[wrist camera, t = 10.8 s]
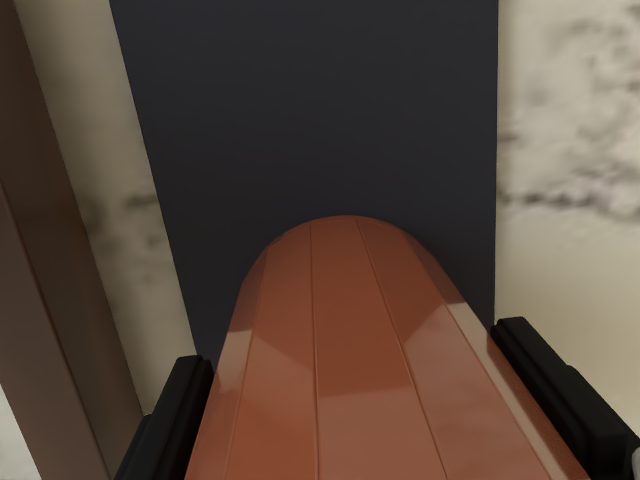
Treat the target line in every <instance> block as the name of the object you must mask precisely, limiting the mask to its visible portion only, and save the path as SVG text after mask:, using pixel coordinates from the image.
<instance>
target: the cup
mask: <svg viewBox="0 0 640 480" xmlns="http://www.w3.org/2000/svg"><path fill="white" fill-rule="evenodd" d="M184 480H591V479H590V478H589V476H588V475H587V473H586V472H585V470H584V469H583V468H582V466H581V465H580V463H579V462H578V460H577V459H576V458H575V456H574V455H573V453H572V452H571V451H570V449H569V448H568V446H567V445H566V443H565V442H564V441H563V439H562V438H561V436H560V435H559V433H558V432H557V431H556V429H555V428H554V426H553V425H552V423H551V422H550V421H549V419H548V418H547V416H546V415H545V413H544V412H543V411H542V409H541V408H540V406H539V405H538V404H537V402H536V401H535V399H534V398H533V396H532V395H531V394H530V392H529V391H528V389H527V388H526V386H525V385H524V384H523V382H522V381H521V379H520V378H519V376H518V375H517V374H516V372H515V371H514V369H513V368H512V366H511V365H510V364H509V362H508V361H507V359H506V358H505V357H504V355H503V354H502V352H501V351H500V349H499V348H498V347H497V345H496V344H495V342H494V341H493V339H492V338H491V337H490V335H489V334H488V332H487V331H486V329H485V328H484V327H483V325H482V324H481V322H480V321H479V319H478V318H477V317H476V315H475V314H474V312H473V311H472V309H471V308H470V307H469V305H468V304H467V302H466V301H465V300H464V298H463V297H462V295H461V294H460V292H459V291H458V290H457V288H456V287H455V285H454V284H453V282H452V281H451V280H450V278H449V277H448V275H447V274H446V272H445V271H444V270H443V268H442V267H441V265H440V264H439V262H438V261H437V260H436V258H435V257H434V256H433V255H432V254H431V253H429V252H428V251H427V250H426V248H425V247H424V246H423V245H422V244H421V243H420V242H418V241H417V240H416V239H415V238H414V237H413V236H411V235H410V234H408V233H407V232H405V231H404V230H402V229H400V228H398V227H396V226H394V225H392V224H390V223H387V222H384V221H381V220H378V219H374V218H369V217H364V216H354V215H339V216H329V217H324V218H318V219H315V220H312V221H309V222H306V223H303V224H301V225H298V226H296V227H294V228H292V229H290V230H288V231H287V232H285V233H284V234H282V235H280V236H279V237H277V238H276V239H275V240H274V241H273V242H272V243H270V244H269V245H268V246H267V247H266V248H265V249H264V250H263V251H262V252H261V253H260V255H259V256H258V257H257V258H256V260H255V261H254V263H253V264H252V266H251V267H250V269H249V271H248V273H247V275H246V277H245V278H244V280H243V282H242V285H241V288H240V292H239V295H238V299H237V302H236V305H235V309H234V312H233V315H232V319H231V322H230V326H229V329H228V332H227V336H226V339H225V343H224V346H223V349H222V353H221V356H220V359H219V363H218V366H217V370H216V373H215V376H214V380H213V383H212V387H211V390H210V393H209V397H208V400H207V403H206V407H205V410H204V414H203V417H202V420H201V424H200V427H199V431H198V434H197V437H196V441H195V444H194V447H193V451H192V454H191V458H190V461H189V464H188V468H187V471H186V475H185V478H184Z"/></svg>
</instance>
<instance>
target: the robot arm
mask: <svg viewBox="0 0 640 480" xmlns="http://www.w3.org/2000/svg"><path fill="white" fill-rule="evenodd" d="M490 337H491V338H492V339H493V341H494V342H495V344H496V345H497V347H498V348H499V349H500V351H501V352H502V354H503V355H504V357H505V358H506V359H507V361H508V362H509V364H510V365H511V366H512V368H513V369H514V371H515V372H516V374H517V375H518V376H519V378H520V379H521V381H522V382H523V384H524V385H525V386H526V388H527V389H528V391H529V392H530V394H531V395H532V396H533V398H534V399H535V401H536V402H537V404H538V405H539V406H540V408H541V409H542V411H543V412H544V413H545V415H546V416H547V418H548V419H549V421H550V422H551V423H552V425H553V426H554V428H555V429H556V431H557V432H558V433H559V435H560V436H561V438H562V439H563V441H564V442H565V443H566V445H567V446H568V448H569V449H570V451H571V452H572V453H573V455H574V456H575V458H576V459H577V460H578V462H579V463H580V465H581V466H582V468H583V469H584V470H585V472H586V473H587V475H588V476H589V478H590V479H591V480H640V438H639V437H638V436H637V435H636V434H635V433H634V432H633V431H632V430H631V429H630V428H629V426H628V425H627V424H626V423H625V422H624V421H623V420H622V419H621V418H620V417H619V416H618V414H617V413H616V412H615V411H614V410H613V409H612V408H611V407H610V406H609V405H608V404H607V402H606V401H605V400H604V399H603V398H602V397H601V396H600V395H599V394H598V393H597V392H596V390H595V389H594V388H593V387H592V386H591V385H590V384H589V383H588V382H587V381H586V380H585V378H584V377H583V376H582V375H581V374H580V373H579V372H578V371H577V370H576V369H575V368H574V367H572V366H570V365H566V364H565V362H564V361H563V360H562V359H561V358H560V357H559V356H558V355H557V353H556V352H555V351H554V350H553V349H552V348H551V347H550V346H549V345H548V343H547V342H546V341H545V340H544V339H543V338H542V337H541V336H540V335H539V333H538V332H537V331H536V330H535V329H534V328H533V327H532V326H531V325H530V323H529V322H528V321H527V320H526V319H525V318H524V317H521V316H520V317H511V318H503V319H499V320H498V321H497V325H493V326H491V329H490ZM213 380H214V372H213V367H212V364H211V361H210V360H209V359H208V360H204V359H203V357H202V355H193V356H184V357H179V358H177V360H176V362H175V364H174V366H173V369H172V371H171V373H170V375H169V377H168V380H167V382H166V384H165V386H164V388H163V391H162V393H161V395H160V397H159V400H158V402H157V404H156V406H155V408H154V411H153V413H152V414H148V415H146V416H144V417H143V419H142V420H141V422H140V424H139V426H138V428H137V431H136V433H135V435H134V437H133V439H132V441H131V443H130V445H129V447H128V450H127V452H126V454H125V456H124V458H123V460H122V462H121V464H120V466H119V469H118V471H117V473H116V475H115V477H114V479H113V480H184V478H185V475H186V471H187V468H188V464H189V461H190V458H191V454H192V451H193V447H194V444H195V441H196V437H197V434H198V431H199V427H200V424H201V420H202V417H203V414H204V410H205V407H206V403H207V400H208V397H209V393H210V390H211V387H212V383H213Z"/></svg>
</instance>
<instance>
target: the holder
mask: <svg viewBox="0 0 640 480" xmlns="http://www.w3.org/2000/svg"><path fill="white" fill-rule="evenodd" d="M0 384H1V386H2V389H3V391H4V393H5V396H6V398H7V400H8V402H9V405H10V407H11V409H12V412H13V414H14V416H15V419H16V421H17V423H18V425H19V428H20V430H21V432H22V435H23V437H24V439H25V442H26V444H27V446H28V449H29V451H30V453H31V455H32V458H33V460H34V462H35V465H36V467H37V469H38V472H39V474H40V476H41V478H42V480H113V479H114V477H115V475H116V473H117V471H118V469H119V466H120V464H121V462H122V460H123V458H124V456H125V454H126V452H127V450H128V447H129V445H130V443H131V441H132V439H133V437H134V435H135V433H136V431H137V428H138V426H139V424H140V422H141V420H142V419H143V415H142V412H141V409H140V405H139V402H138V399H137V396H136V393H135V389H134V386H133V383H132V380H131V377H130V374H129V370H128V367H127V364H126V361H125V358H124V354H123V351H122V348H121V345H120V342H119V339H118V335H117V332H116V329H115V326H114V323H113V319H112V316H111V313H110V310H109V307H108V303H107V300H106V297H105V294H104V291H103V288H102V284H101V281H100V278H99V275H98V272H97V268H96V265H95V262H94V259H93V256H92V253H91V249H90V246H89V243H88V240H87V237H86V233H85V230H84V227H83V224H82V221H81V218H80V214H79V211H78V208H77V205H76V202H75V198H74V195H73V192H72V189H71V186H70V182H69V179H68V176H67V173H66V170H65V167H64V163H63V160H62V157H61V154H60V151H59V147H58V144H57V141H56V138H55V135H54V132H53V128H52V125H51V122H50V119H49V116H48V112H47V109H46V106H45V103H44V100H43V97H42V93H41V90H40V87H39V84H38V81H37V77H36V74H35V71H34V68H33V65H32V61H31V58H30V55H29V52H28V49H27V46H26V42H25V39H24V36H23V33H22V30H21V26H20V23H19V20H18V17H17V14H16V11H15V7H14V4H13V1H12V0H0Z"/></svg>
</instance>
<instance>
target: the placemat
mask: <svg viewBox="0 0 640 480" xmlns="http://www.w3.org/2000/svg"><path fill="white" fill-rule="evenodd" d="M109 3H110V7H111V11H112V15H113V19H114V23H115V27H116V31H117V35H118V39H119V43H120V47H121V51H122V55H123V59H124V63H125V67H126V71H127V75H128V79H129V83H130V87H131V91H132V95H133V99H134V103H135V107H136V111H137V115H138V119H139V123H140V127H141V131H142V135H143V139H144V143H145V147H146V151H147V155H148V159H149V163H150V168H151V172H152V176H153V180H154V184H155V188H156V192H157V196H158V200H159V204H160V208H161V212H162V216H163V220H164V224H165V228H166V232H167V236H168V240H169V244H170V248H171V252H172V256H173V260H174V264H175V268H176V272H177V276H178V280H179V284H180V288H181V292H182V296H183V300H184V304H185V308H186V312H187V316H188V320H189V324H190V328H191V332H192V336H193V340H194V344H195V348H196V352H197V355H202V357H203V359H204V360H208V359H209V360H210V361H211V364H212V367H213V372H214V376H215V373H216V370H217V366H218V363H219V359H220V356H221V353H222V349H223V346H224V343H225V339H226V336H227V332H228V329H229V326H230V322H231V319H232V315H233V312H234V309H235V305H236V302H237V299H238V295H239V292H240V288H241V285H242V282H243V280H244V278H245V277H246V275H247V273H248V271H249V269H250V267H251V266H252V264H253V263H254V261H255V260H256V258H257V257H258V256H259V255H260V253H261V252H262V251H263V250H264V249H265V248H266V247H267V246H268V245H269V244H270V243H272V242H273V241H274V240H275V239H276V238H277V237H279V236H280V235H282V234H284V233H285V232H287V231H288V230H290V229H292V228H294V227H296V226H298V225H301V224H303V223H306V222H309V221H312V220H315V219H318V218H324V217H329V216H339V215H354V216H364V217H369V218H374V219H378V220H381V221H384V222H387V223H390V224H392V225H394V226H396V227H398V228H400V229H402V230H404V231H405V232H407V233H408V234H410V235H411V236H413V237H414V238H415V239H416V240H417V241H418V242H420V243H421V244H422V245H423V246H424V247H425V248H426V250H427V251H428V252H429V253H431V254H432V255H433V256H434V257H435V258H436V260H437V261H438V262H439V264H440V265H441V267H442V268H443V270H444V271H445V272H446V274H447V275H448V277H449V278H450V280H451V281H452V282H453V284H454V285H455V287H456V288H457V290H458V291H459V292H460V294H461V295H462V297H463V298H464V300H465V301H466V302H467V304H468V305H469V307H470V308H471V309H472V311H473V312H474V314H475V315H476V317H477V318H478V319H479V321H480V322H481V324H482V325H483V327H484V328H485V329H486V331H487V332H488V334H489V335H490V329H491V326H493V325H494V304H495V228H496V152H497V76H498V0H109Z"/></svg>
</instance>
